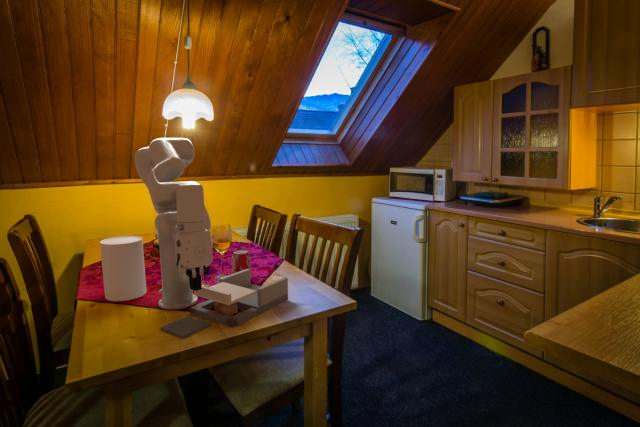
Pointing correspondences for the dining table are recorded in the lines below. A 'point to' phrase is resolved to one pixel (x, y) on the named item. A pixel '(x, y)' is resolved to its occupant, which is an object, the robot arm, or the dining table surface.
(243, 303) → the gray box frame
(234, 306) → the block
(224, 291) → the sliding lid
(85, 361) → the dining table surface
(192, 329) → the mat
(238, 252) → the soda can
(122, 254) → the canister
